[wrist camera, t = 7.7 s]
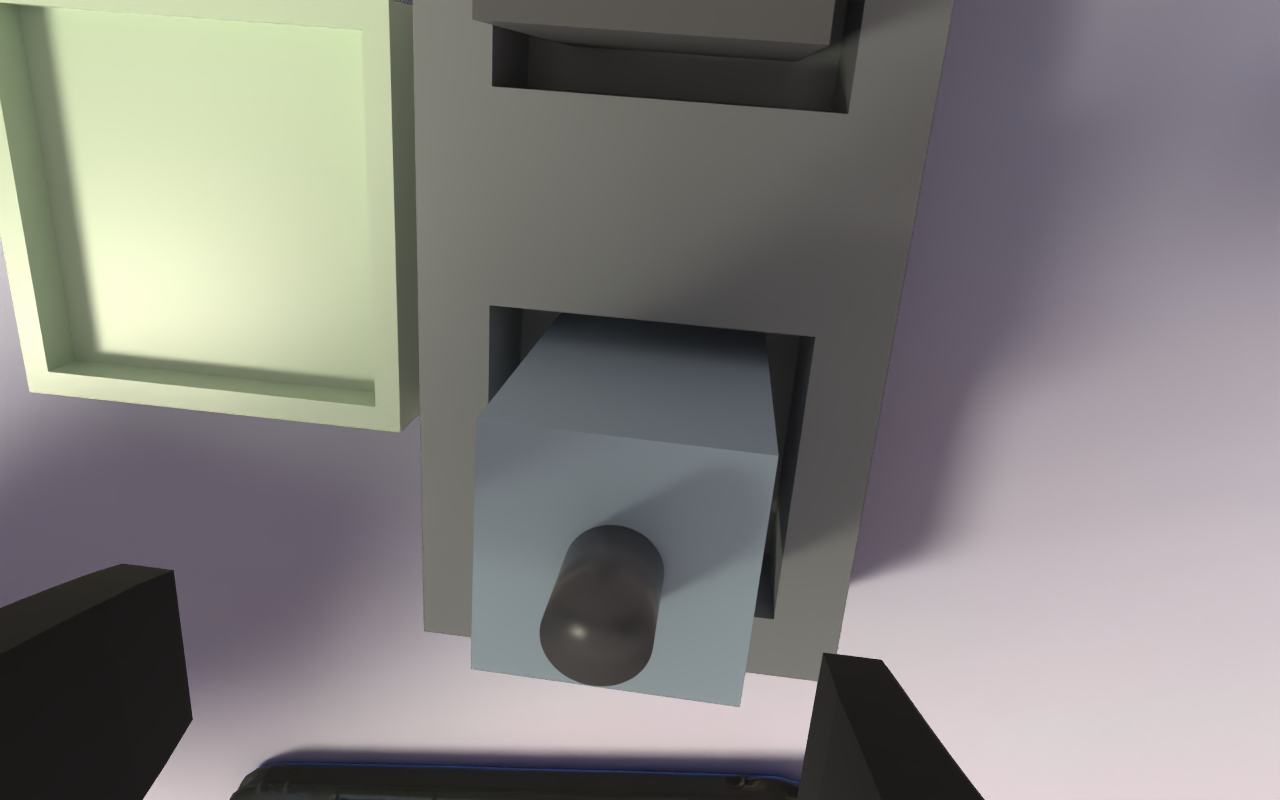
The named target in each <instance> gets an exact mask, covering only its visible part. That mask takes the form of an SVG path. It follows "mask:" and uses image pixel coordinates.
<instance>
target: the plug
mask: <svg viewBox="0 0 1280 800" xmlns="http://www.w3.org/2000/svg"><path fill="white" fill-rule="evenodd" d="M778 457H779V455H778V446H777V437H776V428H775V419H774V410H773V401H772V392H771V383H770V374H769V365H768V356H767V347H766V337H765V333H758V332H749V331H740V330H731V329H722V328H713V327H704V326H695V325H686V324H677V323H667V322H657V321H647V320H636V319H626V318H616V317H606V316H595V315H585V314H575V313H564V312H561V313H560V315H559V316H558V317H557V318H556V320H555V321H554V322H553V323H552V325H551V326H550V327H549V328H548V330H547V331H546V332H545V333H544V335H543V336H542V337H541V338H540V340H539V341H538V342H537V343H536V345H535V346H534V347H533V348H532V350H531V351H530V352H529V353H528V355H527V356H526V357H525V358H524V360H523V361H522V362H521V364H520V365H519V366H518V367H517V369H516V370H515V371H514V372H513V374H512V375H511V376H510V377H509V379H508V380H507V381H506V382H505V384H504V385H503V386H502V387H501V389H500V390H499V391H498V392H497V394H496V395H495V396H494V397H493V399H492V400H491V401H490V402H489V404H488V405H487V406H486V407H485V409H484V410H483V411H482V412H481V414H480V415H479V416H478V417H477V419H476V440H475V488H474V536H473V585H472V633H471V669H475V670H482V671H489V672H496V673H503V674H510V675H517V676H524V677H531V678H538V679H545V680H552V681H559V682H566V683H573V684H580V685H587V686H594V687H601V688H608V689H615V690H622V691H629V692H636V693H644V694H651V695H658V696H665V697H672V698H679V699H686V700H693V701H700V702H707V703H714V704H721V705H728V706H735V707H740V703H741V696H742V690H743V683H744V677H745V670H746V664H747V657H748V651H749V644H750V638H751V631H752V625H753V618H754V612H755V606H756V599H757V593H758V586H759V580H760V573H761V567H762V560H763V554H764V547H765V541H766V534H767V528H768V521H769V515H770V509H771V502H772V496H773V489H774V483H775V476H776V470H777V463H778Z"/></svg>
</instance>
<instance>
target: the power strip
mask: <svg viewBox="0 0 1280 800" xmlns="http://www.w3.org/2000/svg"><path fill="white" fill-rule="evenodd" d="M953 5H954V0H835V7H834V14H833V21H832V29H831V36H830V43H829V45H828V46H826V47H824V48H822V49H820V50H818V51H816V52H814V53H812V54H810V55H808V56H806V57H804V58H802V59H800V60H798V61H797V62H786V61H773V60H759V59H745V58H732V57H718V56H704V55H691V54H677V53H664V52H650V51H636V50H623V49H609V48H595V47H582V46H569V45H565V44H562V43H558V42H554V41H551V40H547V39H543V38H539V37H536V36H532V35H528V34H524V33H521V32H517V31H513V30H509V29H506V28H502V27H498V26H495V25H491V24H487V23H483V22H480V21H476V20H472V0H413V55H414V110H415V165H416V220H417V274H418V329H419V384H420V439H421V494H422V548H423V603H424V631H427V632H435V633H442V634H450V635H458V636H466V637H471V633H472V585H473V536H474V488H475V440H476V419H477V417H478V416H479V415H480V414H481V412H482V411H483V410H484V409H485V407H486V406H487V405H488V404H489V402H490V401H491V400H492V399H493V397H494V396H495V395H496V394H497V392H498V391H499V390H500V389H501V387H502V386H503V385H504V384H505V382H506V381H507V380H508V379H509V377H510V376H511V375H512V374H513V372H514V371H515V370H516V369H517V367H518V366H519V365H520V364H521V362H522V361H523V360H524V358H525V357H526V356H527V355H528V353H529V352H530V351H531V350H532V348H533V347H534V346H535V345H536V343H537V342H538V341H539V340H540V338H541V337H542V336H543V335H544V333H545V332H546V331H547V330H548V328H549V327H550V326H551V325H552V323H553V322H554V321H555V320H556V318H557V317H558V316H559V315H560V313H561V312H564V313H575V314H585V315H595V316H606V317H616V318H626V319H636V320H647V321H657V322H667V323H677V324H686V325H695V326H704V327H713V328H722V329H731V330H740V331H749V332H758V333H765V337H766V347H767V356H768V365H769V374H770V383H771V392H772V401H773V410H774V419H775V428H776V437H777V446H778V455H779V457H778V463H777V470H776V476H775V483H774V489H773V496H772V502H771V509H770V515H769V521H768V528H767V534H766V541H765V547H764V554H763V560H762V567H761V573H760V580H759V586H758V593H757V599H756V606H755V612H754V618H753V625H752V631H751V638H750V644H749V651H748V657H747V664H746V670H745V672H748V673H756V674H764V675H772V676H780V677H788V678H796V679H803V680H811V681H818V678H819V672H820V667H821V661H822V655H823V653H831V654H837V649H838V644H839V638H840V633H841V627H842V622H843V616H844V610H845V605H846V599H847V594H848V588H849V583H850V577H851V572H852V566H853V560H854V555H855V549H856V544H857V538H858V533H859V527H860V522H861V516H862V510H863V505H864V499H865V494H866V488H867V483H868V477H869V472H870V466H871V460H872V455H873V449H874V444H875V438H876V433H877V427H878V421H879V416H880V410H881V405H882V399H883V394H884V388H885V383H886V377H887V371H888V366H889V360H890V355H891V349H892V344H893V338H894V333H895V327H896V321H897V316H898V310H899V305H900V299H901V294H902V288H903V283H904V277H905V271H906V266H907V260H908V255H909V249H910V244H911V238H912V233H913V227H914V221H915V216H916V210H917V205H918V199H919V194H920V188H921V183H922V177H923V171H924V166H925V160H926V155H927V149H928V144H929V138H930V133H931V127H932V121H933V116H934V110H935V105H936V99H937V94H938V88H939V83H940V77H941V71H942V66H943V60H944V55H945V49H946V44H947V38H948V33H949V27H950V21H951V16H952V10H953Z"/></svg>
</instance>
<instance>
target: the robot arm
mask: <svg viewBox="0 0 1280 800" xmlns="http://www.w3.org/2000/svg"><path fill="white" fill-rule="evenodd" d="M192 720H193V718H192V710H191V702H190V695H189V687H188V679H187V671H186V663H185V656H184V648H183V640H182V632H181V624H180V617H179V609H178V601H177V593H176V585H175V578H174V570H167V569H159V568H151V567H143V566H136V565H128V564H120V565H117V566H113V567H110V568H107V569H103V570H100V571H97V572H94V573H91V574H88V575H85V576H82V577H80V578H77V579H74V580H72V581H69V582H66V583H63V584H61V585H58V586H55V587H53V588H50V589H48V590H45V591H42V592H40V593H37V594H35V595H32V596H30V597H27V598H25V599H22V600H19V601H17V602H14V603H12V604H9V605H7V606H4V607H2V608H0V800H143V798H144V797H145V795H146V794H147V792H148V791H149V789H150V788H151V786H152V784H153V783H154V781H155V780H156V778H157V777H158V775H159V774H160V772H161V771H162V769H163V768H164V766H165V764H166V763H167V761H168V759H169V758H170V756H171V754H172V753H173V751H174V749H175V748H176V746H177V744H178V743H179V741H180V739H181V738H182V736H183V734H184V733H185V731H186V729H187V728H188V726H189V725H190V723H191V721H192ZM797 800H984V798H983V797H982V796H981V794H980V793H979V792H978V791H977V789H976V788H975V787H974V786H973V784H972V783H971V782H970V780H969V779H968V778H967V776H966V775H965V774H964V772H963V771H962V770H961V768H960V767H959V766H958V764H957V763H956V762H955V760H954V759H953V758H952V756H951V755H950V754H949V752H948V751H947V750H946V748H945V747H944V746H943V744H942V743H941V741H940V740H939V739H938V737H937V736H936V735H935V733H934V732H933V730H932V729H931V728H930V726H929V725H928V723H927V722H926V721H925V719H924V718H923V716H922V715H921V714H920V712H919V711H918V709H917V708H916V707H915V705H914V704H913V702H912V701H911V700H910V698H909V697H908V695H907V694H906V692H905V691H904V690H903V688H902V687H901V685H900V684H899V683H898V681H897V680H896V678H895V677H894V676H893V674H892V673H891V672H890V670H889V669H888V668H887V666H886V665H885V664H884V662H883V661H882V660H878V659H870V658H863V657H855V656H847V655H839V654H831V653H823V655H822V661H821V667H820V672H819V678H818V683H817V689H816V695H815V700H814V706H813V712H812V717H811V723H810V728H809V734H808V740H807V745H806V751H805V757H804V762H803V768H802V773H801V779H800V785H799V790H798V796H797Z"/></svg>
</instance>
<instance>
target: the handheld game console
mask: <svg viewBox="0 0 1280 800" xmlns="http://www.w3.org/2000/svg"><path fill="white" fill-rule="evenodd" d="M799 785H800V782H797V781H794V780H790V779H786V778H783V777H775V776H753V775H735V774H704V773H674V772H645V771H606V770H565V769H528V768H493V767H466V766H430V765H383V764H340V763H274V764H271V765H267V766H264V767H260V768H258V769H256V770H254V771H253V772H251V773H250V774H248V775H247V776H245V778H244V779H243V781H242V782H241V784H240V786H239V788H238V790H237V791H236V792H235V793H233V795H232V797H231V798H230V800H797V796H798V790H799Z"/></svg>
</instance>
